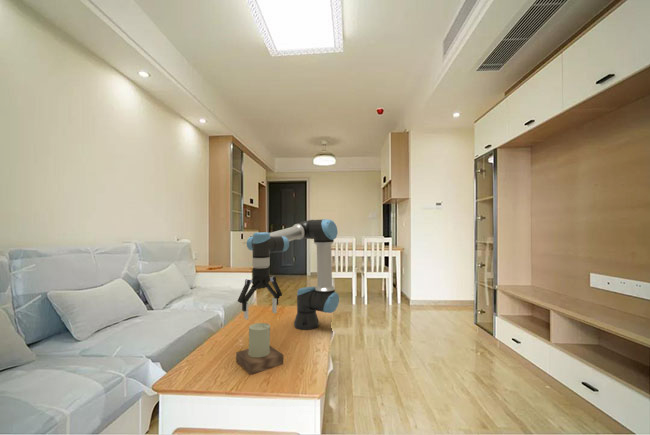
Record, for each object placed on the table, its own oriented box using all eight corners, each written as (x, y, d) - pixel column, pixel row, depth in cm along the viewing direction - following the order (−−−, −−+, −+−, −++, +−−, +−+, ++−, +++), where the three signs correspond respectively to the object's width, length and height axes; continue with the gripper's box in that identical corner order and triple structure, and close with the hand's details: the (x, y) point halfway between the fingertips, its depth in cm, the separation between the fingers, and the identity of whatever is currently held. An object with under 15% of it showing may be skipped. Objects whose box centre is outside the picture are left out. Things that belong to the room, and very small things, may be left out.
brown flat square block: (266, 352, 132) (267, 343, 133) (283, 363, 121) (283, 354, 121) (236, 361, 123) (236, 351, 123) (250, 374, 111) (250, 364, 111)
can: (264, 358, 116) (265, 329, 117) (244, 356, 118) (244, 327, 119) (273, 349, 125) (273, 322, 126) (254, 348, 127) (254, 321, 128)
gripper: (281, 264, 135) (281, 308, 134) (230, 268, 119) (229, 319, 118) (289, 265, 129) (289, 312, 128) (237, 270, 113) (236, 323, 112)
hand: (260, 315), depth 123 cm, fingers open, 13 cm apart
